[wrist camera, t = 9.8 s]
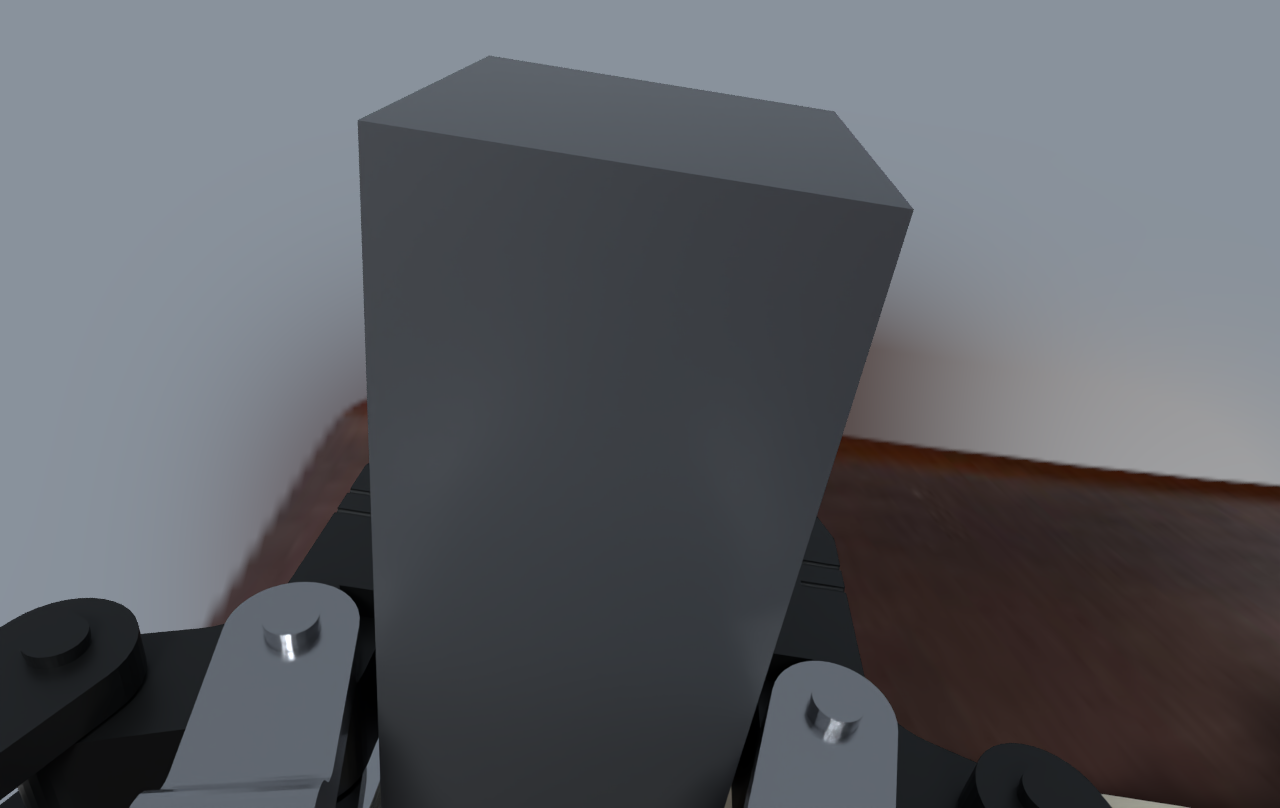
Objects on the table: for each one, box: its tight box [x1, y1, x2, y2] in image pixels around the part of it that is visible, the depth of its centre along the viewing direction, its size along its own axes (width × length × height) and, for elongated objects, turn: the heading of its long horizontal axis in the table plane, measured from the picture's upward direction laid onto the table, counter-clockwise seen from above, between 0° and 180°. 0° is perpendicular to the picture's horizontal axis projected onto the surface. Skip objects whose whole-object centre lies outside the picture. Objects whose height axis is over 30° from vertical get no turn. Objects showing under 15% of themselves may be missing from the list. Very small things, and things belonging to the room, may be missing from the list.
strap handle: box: [358, 56, 914, 808], centre depth 10 cm, size 17×7×13 cm, turn 86°
